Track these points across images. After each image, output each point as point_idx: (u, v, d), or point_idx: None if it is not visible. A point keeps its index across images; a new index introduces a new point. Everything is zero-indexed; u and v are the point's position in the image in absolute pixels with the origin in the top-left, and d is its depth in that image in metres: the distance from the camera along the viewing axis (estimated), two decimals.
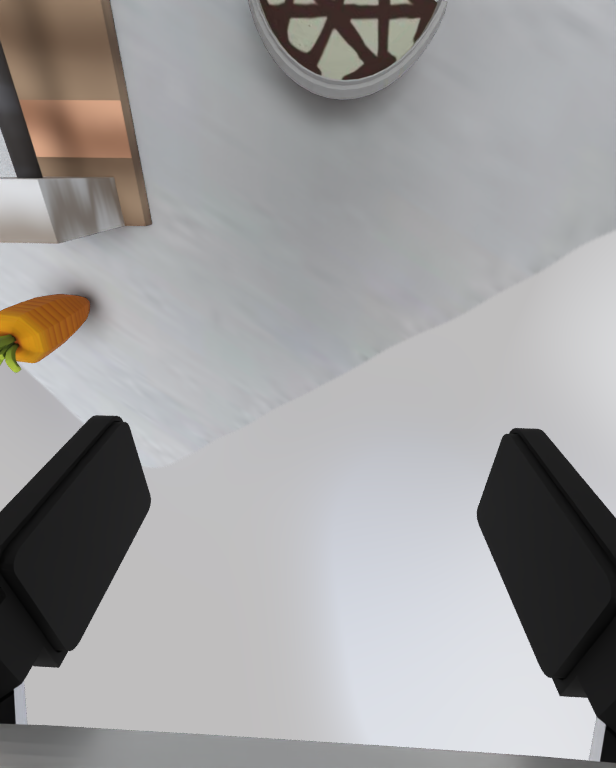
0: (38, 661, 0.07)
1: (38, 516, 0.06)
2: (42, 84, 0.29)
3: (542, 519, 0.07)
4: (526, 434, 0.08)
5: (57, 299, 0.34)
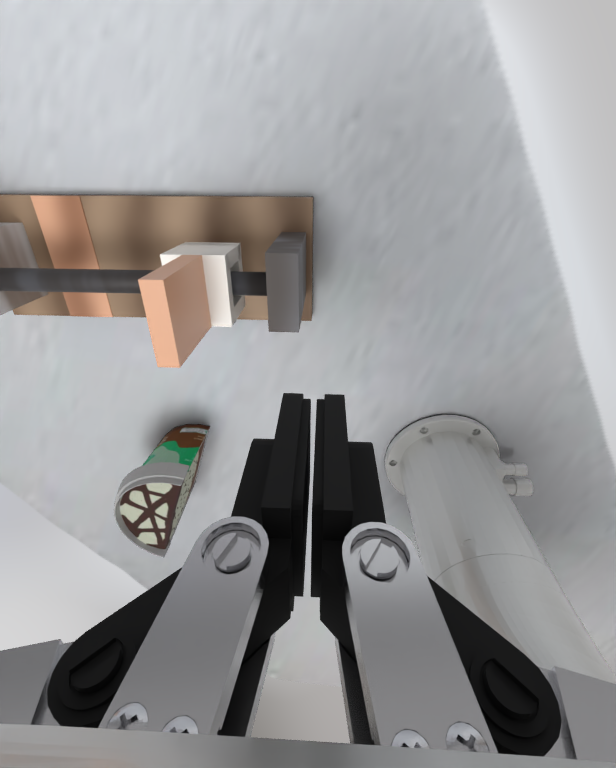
0: None
1: (299, 473, 0.07)
2: (105, 246, 0.31)
3: None
4: (327, 398, 0.09)
5: None
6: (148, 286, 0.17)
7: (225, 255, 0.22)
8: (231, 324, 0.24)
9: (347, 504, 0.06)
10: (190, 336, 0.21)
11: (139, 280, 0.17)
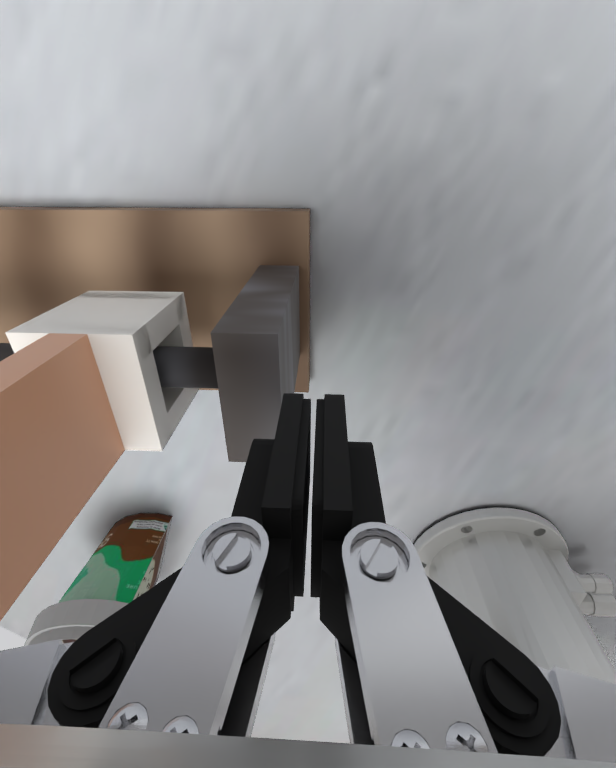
0: None
1: (299, 473, 0.07)
2: None
3: None
4: (327, 398, 0.09)
5: None
6: None
7: (135, 333, 0.11)
8: (161, 447, 0.13)
9: (347, 503, 0.06)
10: (45, 521, 0.10)
11: None
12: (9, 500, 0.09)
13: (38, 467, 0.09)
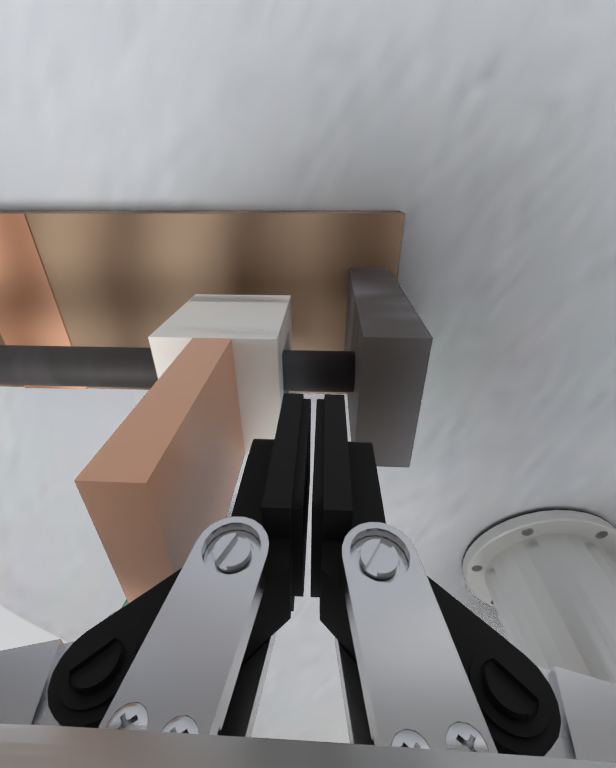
0: None
1: (299, 473, 0.07)
2: (70, 290, 0.20)
3: None
4: (327, 398, 0.09)
5: None
6: (105, 496, 0.06)
7: (277, 337, 0.11)
8: None
9: (346, 503, 0.06)
10: None
11: (79, 482, 0.06)
12: (197, 506, 0.08)
13: (210, 473, 0.09)
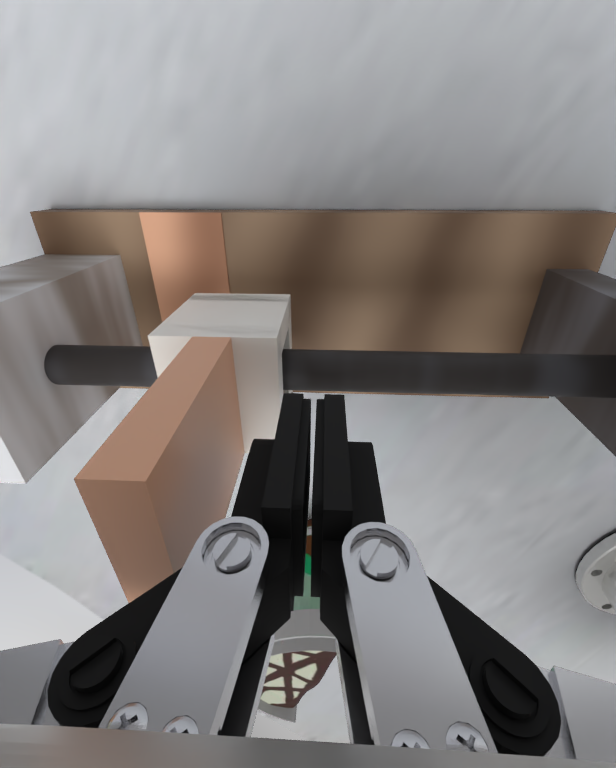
0: None
1: (299, 473, 0.07)
2: (248, 291, 0.19)
3: None
4: (327, 398, 0.09)
5: None
6: (105, 494, 0.06)
7: (277, 336, 0.11)
8: None
9: (346, 504, 0.06)
10: None
11: (78, 480, 0.06)
12: (197, 505, 0.08)
13: (210, 471, 0.09)
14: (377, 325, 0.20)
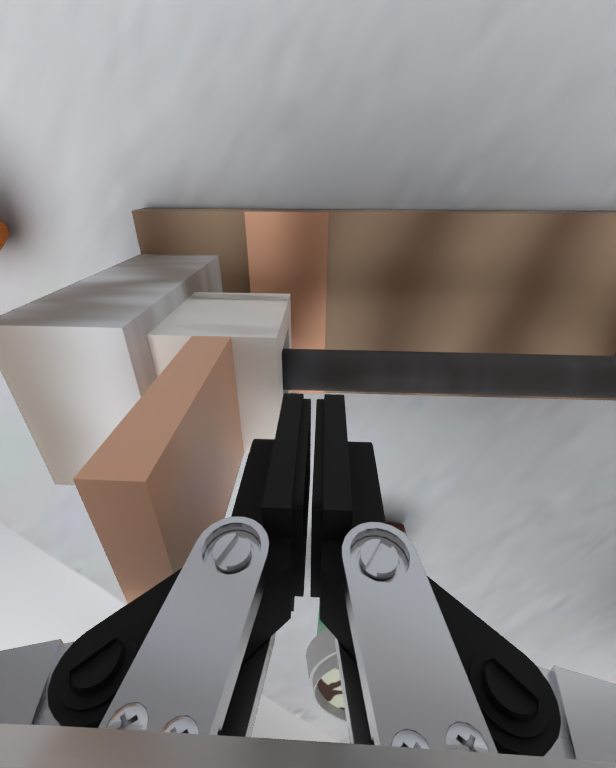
0: None
1: (299, 473, 0.07)
2: (345, 292, 0.19)
3: None
4: (327, 398, 0.09)
5: None
6: (104, 494, 0.06)
7: (277, 336, 0.11)
8: None
9: (347, 503, 0.06)
10: None
11: (78, 481, 0.06)
12: (197, 505, 0.08)
13: (210, 471, 0.09)
14: (472, 327, 0.20)
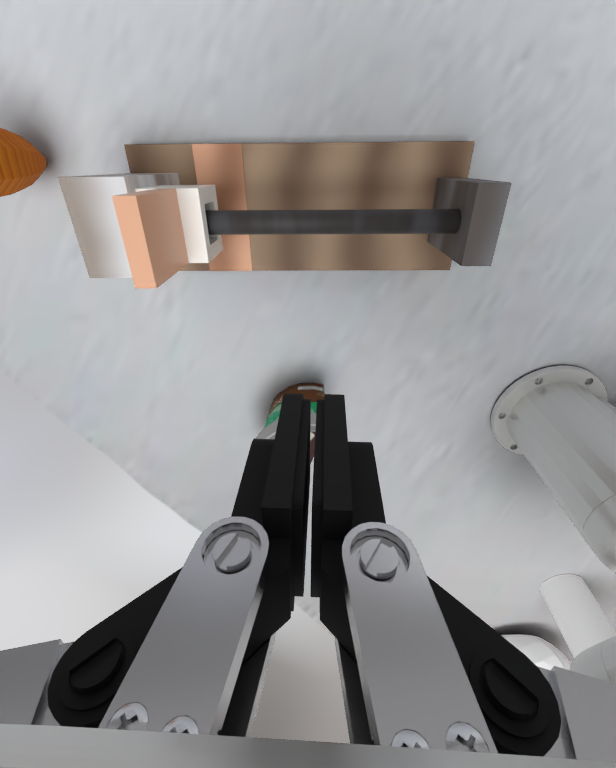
0: None
1: (299, 473, 0.07)
2: (257, 196, 0.31)
3: None
4: (327, 398, 0.09)
5: (25, 175, 0.27)
6: (122, 202, 0.18)
7: (199, 189, 0.23)
8: (207, 260, 0.25)
9: (347, 503, 0.06)
10: (166, 262, 0.22)
11: (113, 196, 0.18)
12: (158, 240, 0.20)
13: (164, 235, 0.21)
14: None
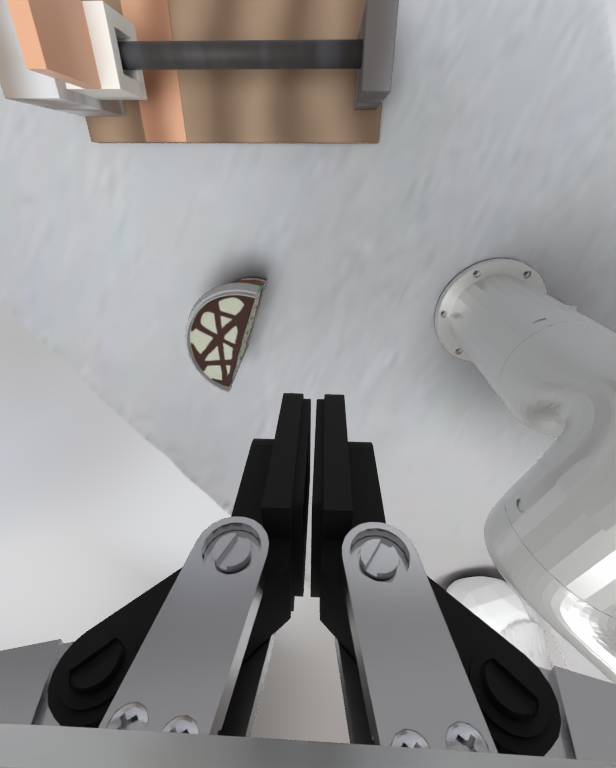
0: None
1: (299, 473, 0.07)
2: None
3: None
4: (327, 398, 0.09)
5: None
6: None
7: (104, 3, 0.24)
8: (119, 86, 0.26)
9: (347, 504, 0.06)
10: (64, 58, 0.23)
11: None
12: (50, 26, 0.22)
13: (61, 29, 0.22)
14: (265, 83, 0.33)
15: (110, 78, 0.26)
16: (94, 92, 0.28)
